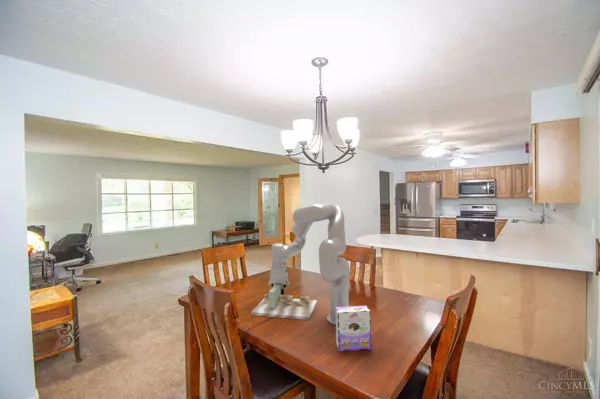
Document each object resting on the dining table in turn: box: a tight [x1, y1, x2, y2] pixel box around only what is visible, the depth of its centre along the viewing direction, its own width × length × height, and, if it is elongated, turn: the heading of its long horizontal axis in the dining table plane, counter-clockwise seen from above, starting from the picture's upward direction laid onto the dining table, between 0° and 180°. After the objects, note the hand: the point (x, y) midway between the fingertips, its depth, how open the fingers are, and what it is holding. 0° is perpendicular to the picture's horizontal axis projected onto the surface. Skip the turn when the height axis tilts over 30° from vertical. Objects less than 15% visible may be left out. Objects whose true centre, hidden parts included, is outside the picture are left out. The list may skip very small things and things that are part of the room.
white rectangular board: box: [250, 293, 318, 321], centre depth 155 cm, size 32×22×6 cm
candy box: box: [335, 305, 372, 352], centre depth 115 cm, size 14×6×16 cm, turn 92°
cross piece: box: [268, 284, 281, 308], centre depth 158 cm, size 16×3×9 cm, turn 166°
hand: (279, 294), depth 163 cm, fingers closed on cross piece, 3 cm apart
